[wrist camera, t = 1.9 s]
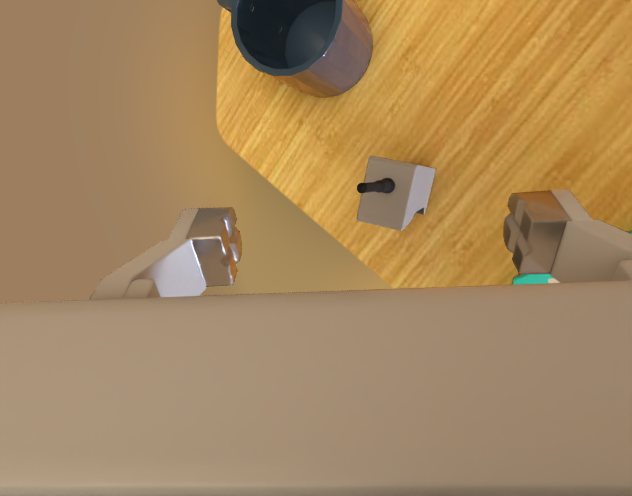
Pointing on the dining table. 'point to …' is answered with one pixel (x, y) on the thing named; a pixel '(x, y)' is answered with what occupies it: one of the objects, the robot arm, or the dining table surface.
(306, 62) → the dark grey mug
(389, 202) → the vintage mobile phone
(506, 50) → the dining table surface
